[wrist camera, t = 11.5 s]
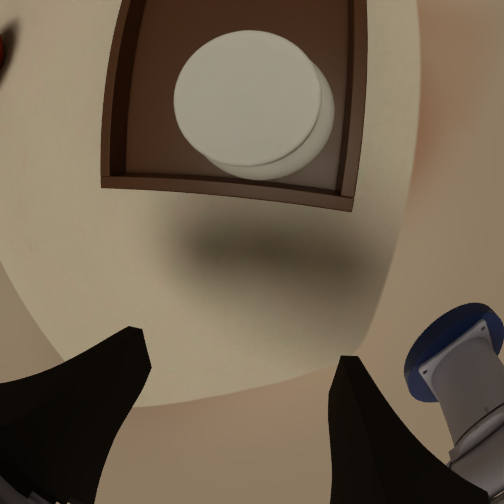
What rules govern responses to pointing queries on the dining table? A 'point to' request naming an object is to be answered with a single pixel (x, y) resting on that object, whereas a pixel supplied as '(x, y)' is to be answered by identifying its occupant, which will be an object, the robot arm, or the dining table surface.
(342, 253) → the dining table surface
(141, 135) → the tray
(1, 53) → the apple
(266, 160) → the supplement bottle
